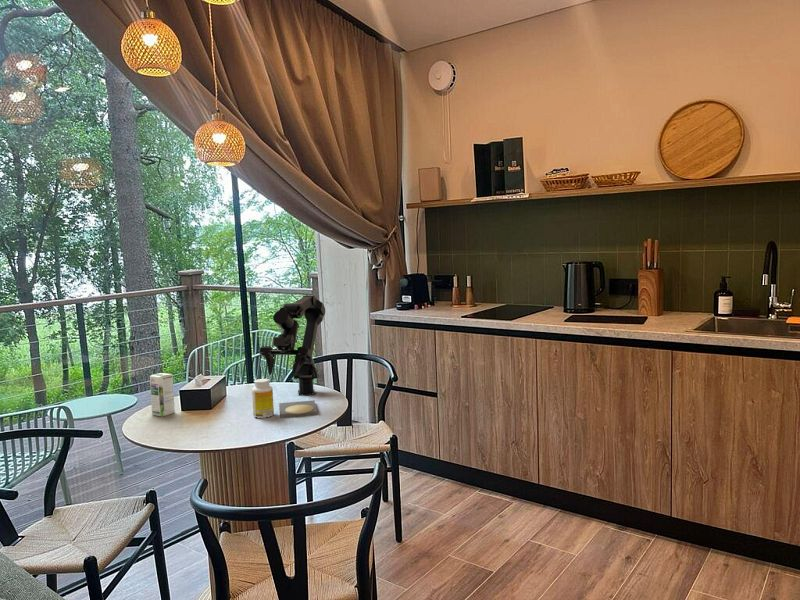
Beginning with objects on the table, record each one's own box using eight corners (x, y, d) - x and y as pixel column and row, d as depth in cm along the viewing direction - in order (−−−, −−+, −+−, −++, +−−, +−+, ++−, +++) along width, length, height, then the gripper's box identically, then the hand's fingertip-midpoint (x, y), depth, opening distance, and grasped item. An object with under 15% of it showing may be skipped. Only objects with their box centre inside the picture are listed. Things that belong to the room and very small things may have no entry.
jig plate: (279, 406, 217) (279, 402, 216) (314, 403, 219) (314, 399, 219) (279, 418, 202) (279, 414, 201) (317, 415, 204) (317, 411, 204)
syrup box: (151, 415, 210) (148, 375, 208) (164, 410, 215) (162, 372, 213) (162, 417, 207) (159, 377, 205) (175, 412, 212) (173, 373, 211)
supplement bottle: (277, 416, 205) (275, 380, 203) (259, 420, 200) (257, 383, 199) (268, 411, 210) (266, 376, 209) (250, 415, 206) (248, 380, 204)
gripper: (256, 326, 211) (248, 367, 204) (306, 326, 207) (299, 368, 201) (268, 337, 221) (260, 377, 214) (315, 338, 217) (309, 378, 210)
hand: (281, 374), depth 209 cm, fingers open, 9 cm apart
